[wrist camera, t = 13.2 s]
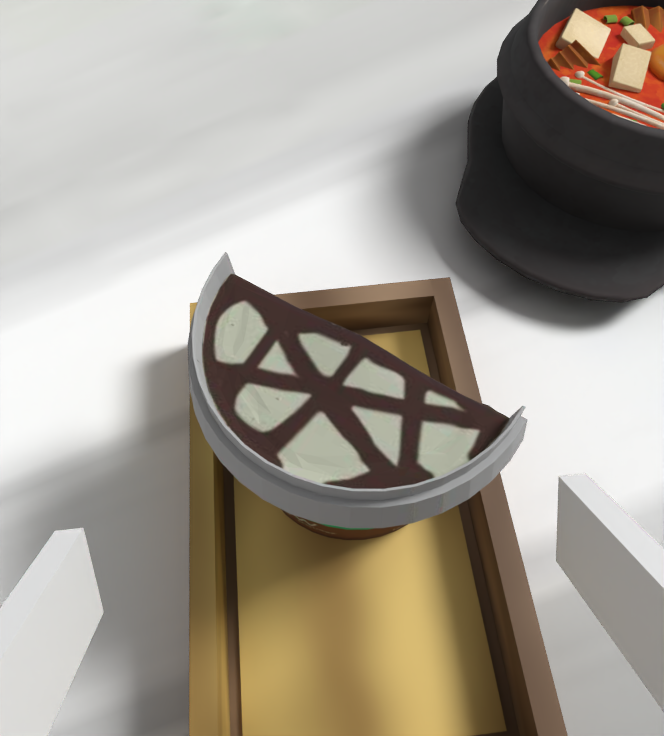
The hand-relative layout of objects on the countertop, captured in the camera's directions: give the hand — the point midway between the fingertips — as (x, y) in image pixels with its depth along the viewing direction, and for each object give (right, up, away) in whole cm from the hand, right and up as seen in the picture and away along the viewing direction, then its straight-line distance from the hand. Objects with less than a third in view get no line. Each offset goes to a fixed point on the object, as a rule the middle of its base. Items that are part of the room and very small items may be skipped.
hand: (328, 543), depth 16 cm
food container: (0, -1, +11) cm, 11 cm away
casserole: (+18, +18, +22) cm, 33 cm away
